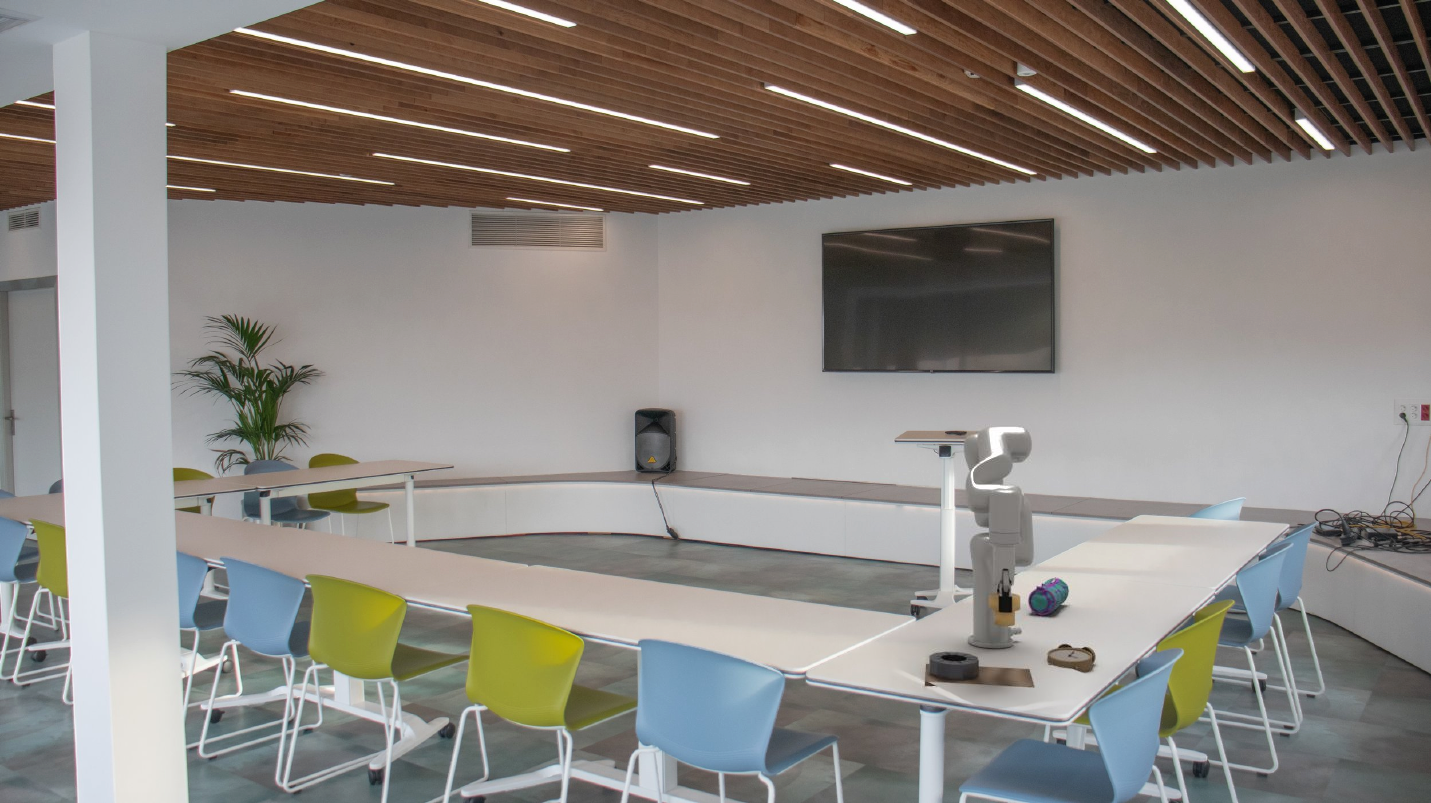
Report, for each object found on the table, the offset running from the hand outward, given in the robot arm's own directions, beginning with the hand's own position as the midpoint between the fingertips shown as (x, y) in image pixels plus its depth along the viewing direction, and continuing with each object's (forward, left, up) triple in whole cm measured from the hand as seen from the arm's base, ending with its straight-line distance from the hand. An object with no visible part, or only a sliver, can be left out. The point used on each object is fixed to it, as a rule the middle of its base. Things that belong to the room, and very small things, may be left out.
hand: (1004, 607), depth 261 cm
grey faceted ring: (+10, -7, -17) cm, 21 cm away
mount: (+6, -3, -18) cm, 19 cm away
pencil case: (-63, -58, -19) cm, 88 cm away
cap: (0, 0, -4) cm, 4 cm away
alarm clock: (-25, -4, -19) cm, 32 cm away
